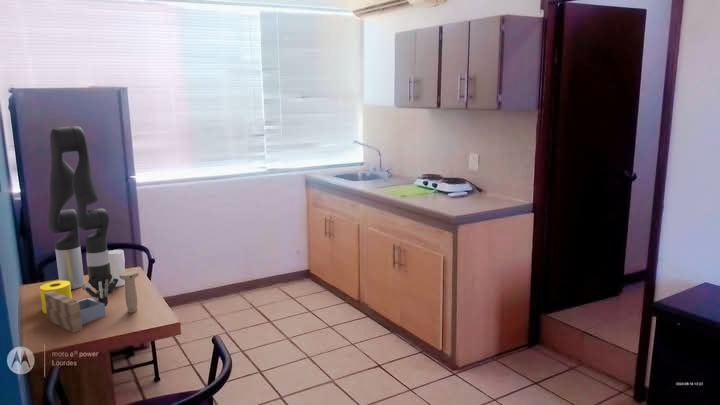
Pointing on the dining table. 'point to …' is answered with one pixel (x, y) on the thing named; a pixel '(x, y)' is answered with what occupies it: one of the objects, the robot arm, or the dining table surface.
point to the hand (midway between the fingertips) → (103, 306)
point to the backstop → (63, 311)
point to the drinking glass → (117, 265)
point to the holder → (91, 309)
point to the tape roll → (56, 286)
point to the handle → (130, 289)
